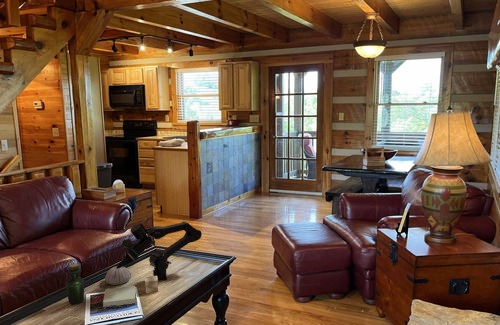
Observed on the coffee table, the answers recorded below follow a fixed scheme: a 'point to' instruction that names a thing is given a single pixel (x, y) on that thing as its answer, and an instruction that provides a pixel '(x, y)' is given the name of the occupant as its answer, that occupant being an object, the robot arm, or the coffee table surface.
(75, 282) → the potion bottle
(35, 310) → the coffee table surface
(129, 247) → the robot arm
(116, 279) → the sea urchin shell
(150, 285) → the birch cube
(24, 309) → the coffee table surface
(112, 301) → the sage base block
